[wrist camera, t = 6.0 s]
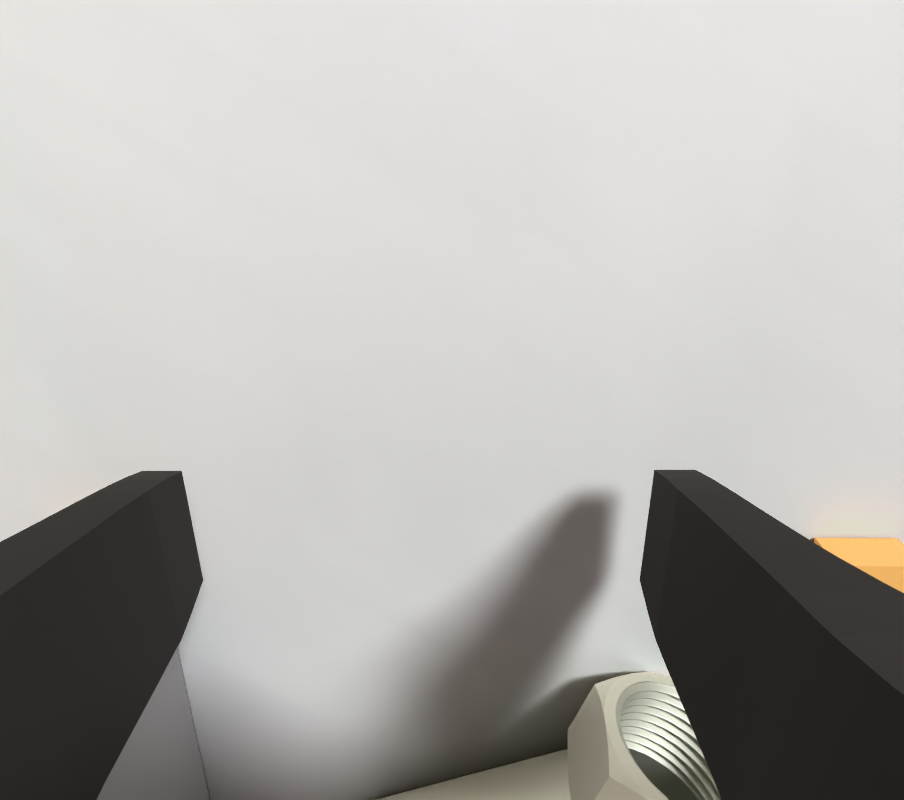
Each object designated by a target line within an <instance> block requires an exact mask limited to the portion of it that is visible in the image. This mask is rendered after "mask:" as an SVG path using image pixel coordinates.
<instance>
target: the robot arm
mask: <svg viewBox="0 0 904 800" xmlns="http://www.w3.org/2000/svg"><path fill="white" fill-rule="evenodd" d="M202 582H203V577H202V572H201V567H200V562H199V557H198V552H197V547H196V542H195V537H194V532H193V527H192V521H191V516H190V511H189V506H188V501H187V496H186V491H185V486H184V481H183V476H182V471H141V472H139V473H136V474H134V475H131V476H128V477H126V478H124V479H122V480H120V481H117V482H115V483H113V484H111V485H109V486H107V487H105V488H103V489H101V490H99V491H97V492H95V493H93V494H91V495H89V496H87V497H86V498H84V499H82V500H80V501H78V502H76V503H74V504H72V505H70V506H68V507H67V508H65V509H63V510H61V511H59V512H57V513H55V514H53V515H51V516H49V517H47V518H46V519H44V520H42V521H40V522H38V523H36V524H34V525H32V526H30V527H28V528H27V529H25V530H23V531H21V532H19V533H17V534H15V535H13V536H11V537H9V538H7V539H5V540H3V541H1V542H0V800H97V798H98V796H99V794H100V792H101V790H102V788H103V786H104V783H105V781H106V780H107V778H108V776H109V774H110V772H111V770H112V768H113V767H114V765H115V763H116V761H117V759H118V757H119V755H120V754H121V752H122V750H123V748H124V746H125V744H126V742H127V741H128V739H129V737H130V735H131V733H132V731H133V729H134V728H135V726H136V724H137V722H138V720H139V718H140V716H141V715H142V713H143V711H144V709H145V707H146V705H147V704H148V702H149V700H150V698H151V696H152V694H153V692H154V691H155V689H156V687H157V685H158V683H159V681H160V679H161V677H162V675H163V674H164V672H165V670H166V668H167V666H168V664H169V662H170V660H171V658H172V656H173V655H174V653H175V651H176V649H177V647H178V645H179V643H180V641H181V639H182V636H183V634H184V631H185V628H186V626H187V623H188V621H189V618H190V616H191V613H192V610H193V607H194V604H195V602H196V599H197V596H198V593H199V590H200V587H201V584H202ZM640 582H641V586H642V590H643V594H644V598H645V602H646V606H647V610H648V614H649V618H650V621H651V625H652V628H653V632H654V635H655V639H656V642H657V644H658V647H659V649H660V652H661V654H662V657H663V659H664V662H665V664H666V666H667V669H668V671H669V674H670V676H671V679H672V681H673V684H674V686H675V688H676V691H677V693H678V696H679V698H680V700H681V703H682V705H683V708H684V710H685V712H686V715H687V717H688V719H689V722H690V724H691V727H692V729H693V731H694V734H695V736H696V739H697V741H698V743H699V746H700V748H701V751H702V753H703V755H704V758H705V760H706V763H707V765H708V767H709V770H710V772H711V774H712V777H713V779H714V782H715V784H716V787H717V790H718V792H719V795H720V798H721V800H904V593H903V592H901V591H899V590H897V589H895V588H893V587H891V586H889V585H887V584H885V583H884V582H882V581H880V580H878V579H876V578H875V577H873V576H871V575H869V574H867V573H866V572H864V571H862V570H860V569H858V568H857V567H855V566H853V565H851V564H850V563H848V562H846V561H844V560H842V559H841V558H839V557H837V556H835V555H834V554H832V553H830V552H829V551H827V550H825V549H824V548H822V547H820V546H819V545H817V544H815V543H814V542H812V541H810V540H809V539H807V538H805V537H804V536H802V535H800V534H799V533H797V532H796V531H794V530H792V529H791V528H789V527H788V526H786V525H784V524H783V523H781V522H780V521H778V520H776V519H775V518H773V517H772V516H770V515H769V514H767V513H765V512H764V511H762V510H761V509H759V508H758V507H756V506H754V505H753V504H751V503H750V502H748V501H747V500H745V499H743V498H742V497H740V496H739V495H737V494H736V493H734V492H732V491H731V490H729V489H728V488H726V487H724V486H723V485H721V484H720V483H718V482H716V481H715V480H713V479H711V478H709V477H708V476H706V475H704V474H702V473H700V472H698V471H696V470H654V478H653V485H652V493H651V500H650V508H649V515H648V522H647V530H646V537H645V545H644V552H643V560H642V567H641V575H640Z"/></svg>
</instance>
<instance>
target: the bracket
mask: <svg viewBox="0 0 904 800" xmlns="http://www.w3.org/2000/svg"><path fill="white" fill-rule="evenodd" d="M814 543H815V544H817V545H819V546H820V547H822V548H824V549H825V550H827V551H829V552H830V553H832V554H834V555H835V556H837V557H839V558H841V559H842V560H844V561H846V562H848V563H850V564H851V565H853V566H855V567H857V568H858V569H860V570H862V571H864V572H866V573H867V574H869V575H871V576H873V577H875V578H876V579H878V580H880V581H882V582H884V583H885V584H887V585H889V586H891V587H893V588H895V589H897V590H899V591H901V592H903V593H904V544H903V543H902V542H901V541H900V540H899V539H888V538H814ZM97 800H210V798H209V793H208V788H207V784H206V779H205V774H204V770H203V765H202V760H201V756H200V751H199V746H198V741H197V737H196V732H195V727H194V723H193V718H192V713H191V708H190V704H189V699H188V694H187V690H186V685H185V680H184V676H183V671H182V666H181V661H180V657H179V652H178V647H177V649H176V651H175V653H174V655H173V656H172V658H171V660H170V662H169V664H168V666H167V668H166V670H165V672H164V674H163V675H162V677H161V679H160V681H159V683H158V685H157V687H156V689H155V691H154V692H153V694H152V696H151V698H150V700H149V702H148V704H147V705H146V707H145V709H144V711H143V713H142V715H141V716H140V718H139V720H138V722H137V724H136V726H135V728H134V729H133V731H132V733H131V735H130V737H129V739H128V741H127V742H126V744H125V746H124V748H123V750H122V752H121V754H120V755H119V757H118V759H117V761H116V763H115V765H114V767H113V768H112V770H111V772H110V774H109V776H108V778H107V780H106V781H105V783H104V786H103V788H102V790H101V792H100V794H99V796H98V798H97Z"/></svg>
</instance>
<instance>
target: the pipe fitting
mask: <svg viewBox="0 0 904 800" xmlns="http://www.w3.org/2000/svg"><path fill="white" fill-rule="evenodd" d="M376 800H721V798H720V795H719V792H718V790H717V787H716V784H715V782H714V779H713V777H712V774H711V772H710V770H709V767H708V765H707V763H706V760H705V758H704V755H703V753H702V751H701V748H700V746H699V743H698V741H697V739H696V736H695V734H694V731H693V729H692V727H691V724H690V722H689V719H688V717H687V715H686V712H685V710H684V708H683V705H682V703H681V700H680V698H679V696H678V693H677V691H676V688H675V686H674V684H673V681H672V679H671V677H670V676H666V675H663V674H659V673H654V672H638V673H631V674H627V675H622V676H618V677H614V678H611V679H608V680H605V681H602V682H599V683H596V684H594V686H593V688H592V689H591V691H590V693H589V694H588V696H587V698H586V699H585V701H584V703H583V705H582V706H581V708H580V710H579V711H578V713H577V715H576V716H575V718H574V720H573V721H572V723H571V725H570V726H569V728H568V749H565V750H561V751H557V752H554V753H550V754H546V755H542V756H538V757H535V758H531V759H527V760H523V761H519V762H516V763H512V764H508V765H504V766H500V767H497V768H493V769H489V770H485V771H481V772H478V773H474V774H470V775H466V776H463V777H459V778H455V779H451V780H448V781H444V782H440V783H437V784H433V785H429V786H425V787H422V788H418V789H414V790H410V791H407V792H403V793H399V794H395V795H392V796H388V797H384V798H380V799H376Z"/></svg>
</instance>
